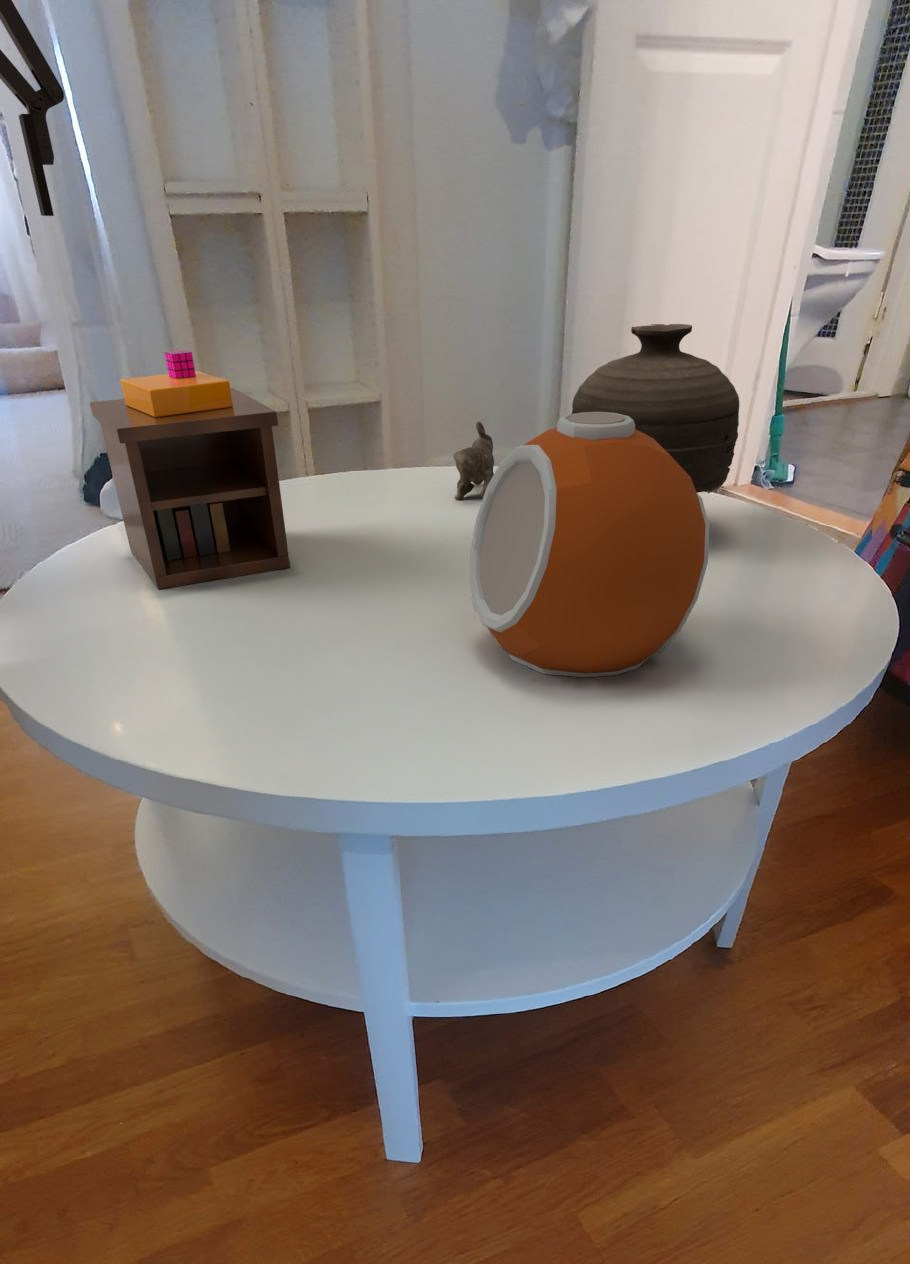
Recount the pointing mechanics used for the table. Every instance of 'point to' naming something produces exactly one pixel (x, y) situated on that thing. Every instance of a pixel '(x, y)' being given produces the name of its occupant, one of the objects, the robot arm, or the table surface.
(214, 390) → the orange slab with cube
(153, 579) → the bookcase
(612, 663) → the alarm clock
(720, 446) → the pot
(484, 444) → the grey cat figurine
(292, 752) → the table surface
